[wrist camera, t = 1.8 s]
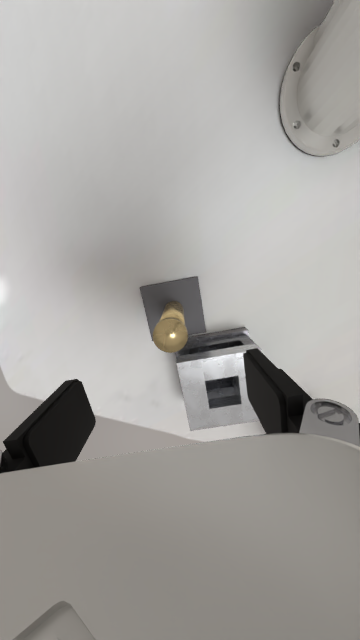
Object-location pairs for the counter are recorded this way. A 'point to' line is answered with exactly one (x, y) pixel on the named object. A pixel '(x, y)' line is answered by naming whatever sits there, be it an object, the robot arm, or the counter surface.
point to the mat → (175, 291)
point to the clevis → (215, 379)
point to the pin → (171, 329)
